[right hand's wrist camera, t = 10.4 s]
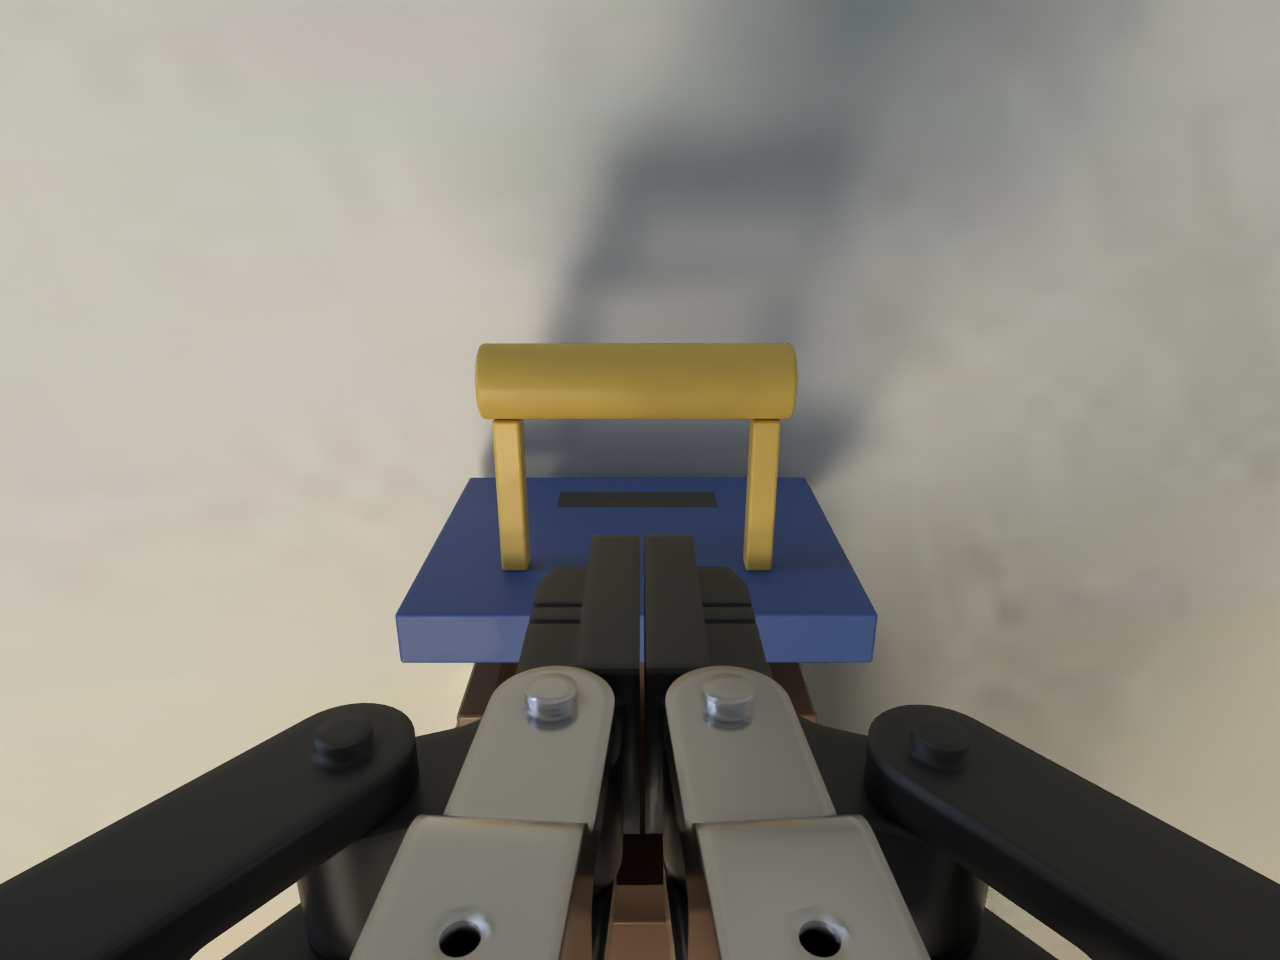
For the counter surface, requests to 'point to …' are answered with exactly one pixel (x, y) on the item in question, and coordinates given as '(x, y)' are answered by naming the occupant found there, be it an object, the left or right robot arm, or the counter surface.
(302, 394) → the counter surface
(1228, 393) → the counter surface
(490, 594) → the drawer
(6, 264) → the counter surface
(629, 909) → the cabinet
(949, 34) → the counter surface
